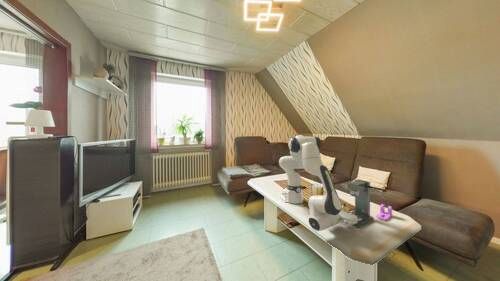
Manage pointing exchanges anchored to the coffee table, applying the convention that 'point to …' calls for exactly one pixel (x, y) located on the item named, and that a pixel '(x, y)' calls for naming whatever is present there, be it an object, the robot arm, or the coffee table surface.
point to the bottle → (345, 207)
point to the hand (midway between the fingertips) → (345, 210)
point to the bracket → (384, 213)
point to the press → (362, 201)
